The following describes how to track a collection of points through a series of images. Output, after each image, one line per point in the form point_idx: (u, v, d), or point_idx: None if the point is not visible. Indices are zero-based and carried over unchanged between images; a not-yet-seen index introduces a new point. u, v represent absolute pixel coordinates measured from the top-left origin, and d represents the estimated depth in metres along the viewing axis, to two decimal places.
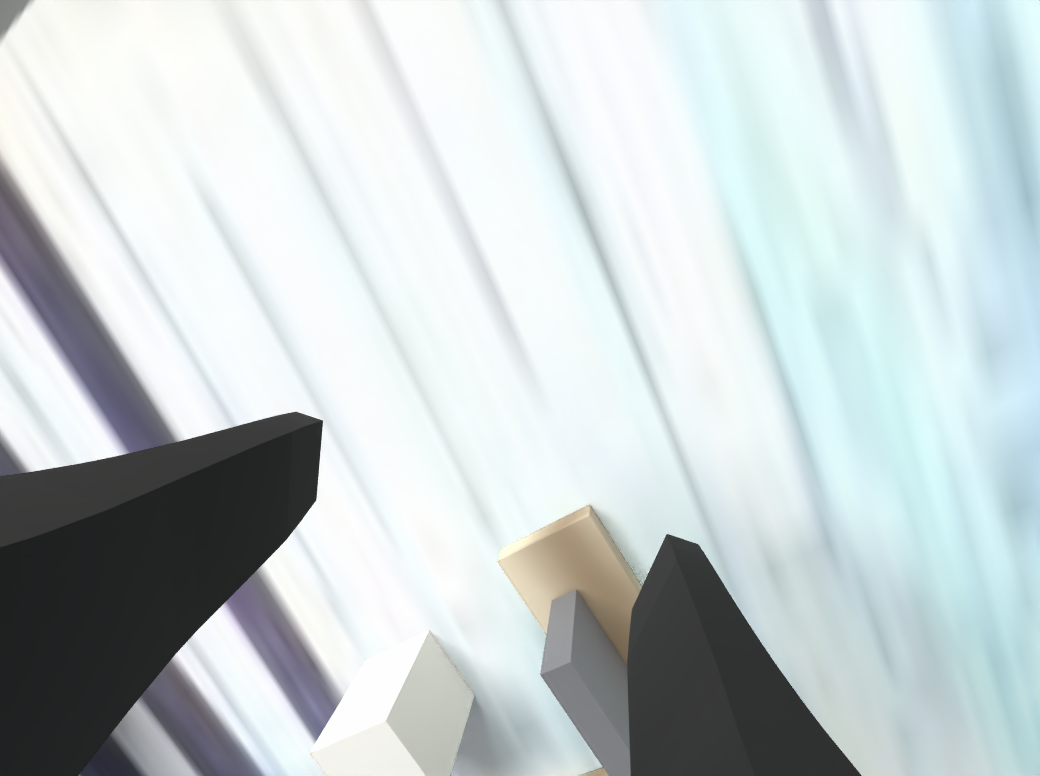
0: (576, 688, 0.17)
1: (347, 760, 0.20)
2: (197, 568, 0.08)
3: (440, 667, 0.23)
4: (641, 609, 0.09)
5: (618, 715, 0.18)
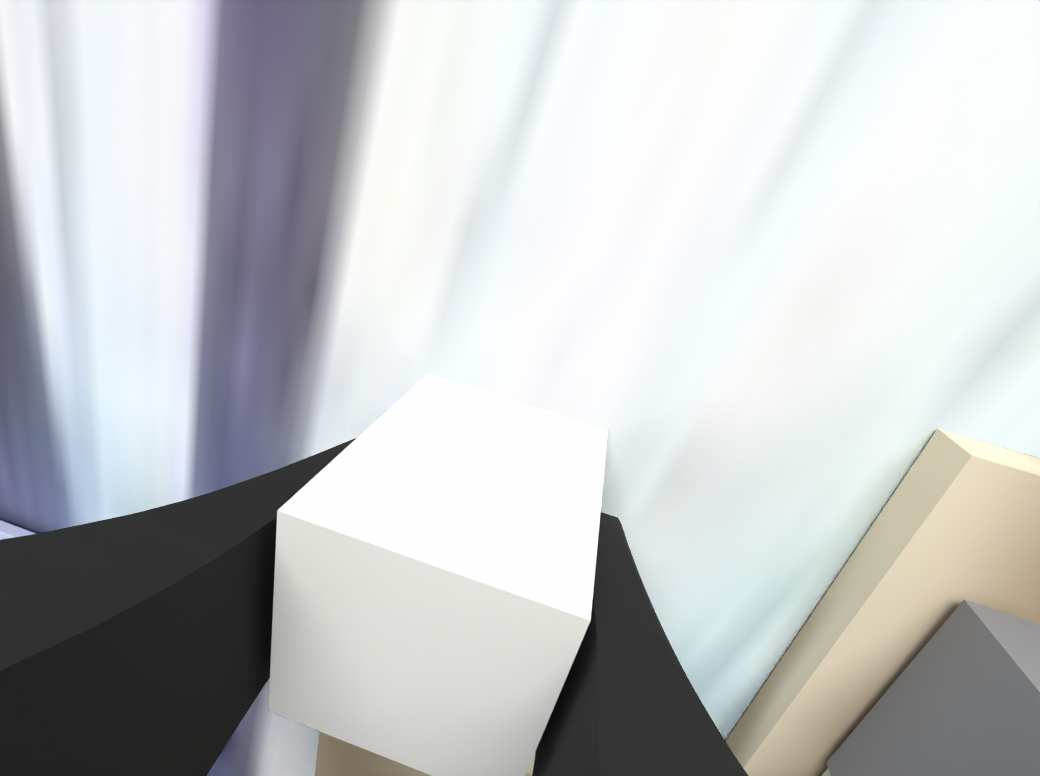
0: None
1: (369, 601, 0.06)
2: None
3: None
4: None
5: None
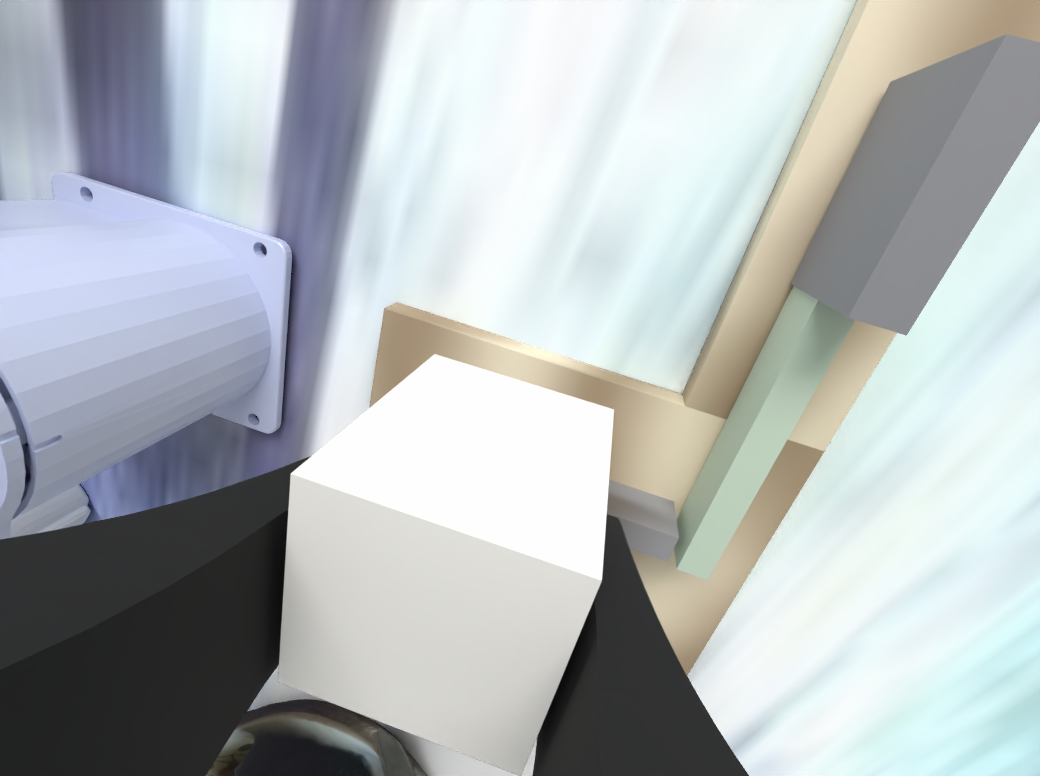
0: (1019, 113, 0.09)
1: (382, 564, 0.06)
2: None
3: None
4: None
5: None
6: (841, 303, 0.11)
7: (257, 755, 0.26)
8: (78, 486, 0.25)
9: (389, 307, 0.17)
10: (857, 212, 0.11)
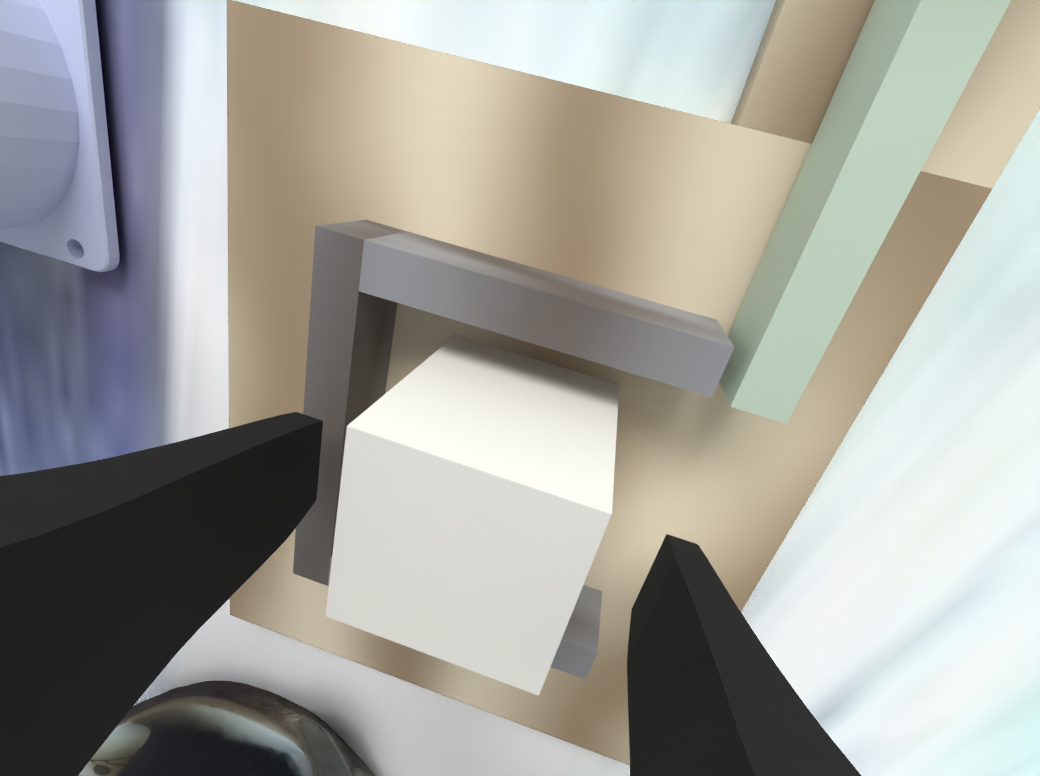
0: None
1: (422, 505, 0.07)
2: (197, 568, 0.08)
3: None
4: (641, 609, 0.09)
5: None
6: None
7: (143, 755, 0.19)
8: None
9: None
10: None
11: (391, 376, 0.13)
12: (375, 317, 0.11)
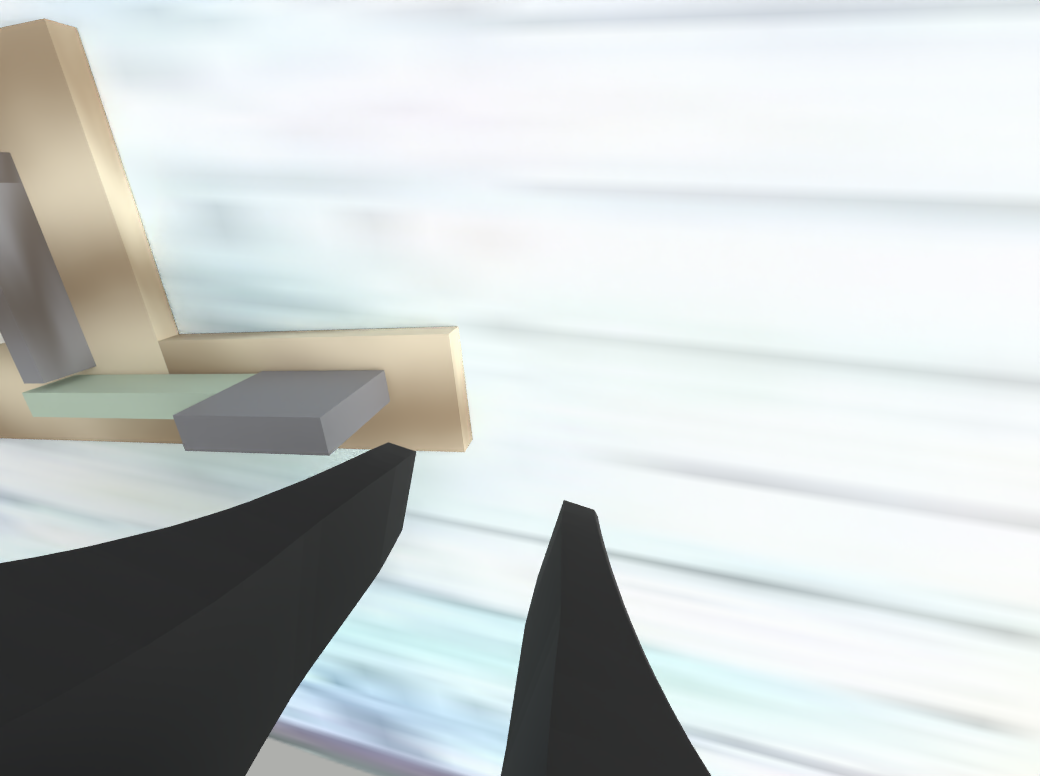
0: (296, 443, 0.14)
1: None
2: (315, 612, 0.07)
3: None
4: (540, 574, 0.10)
5: None
6: (192, 407, 0.15)
7: None
8: None
9: (54, 23, 0.16)
10: (276, 389, 0.16)
11: None
12: None
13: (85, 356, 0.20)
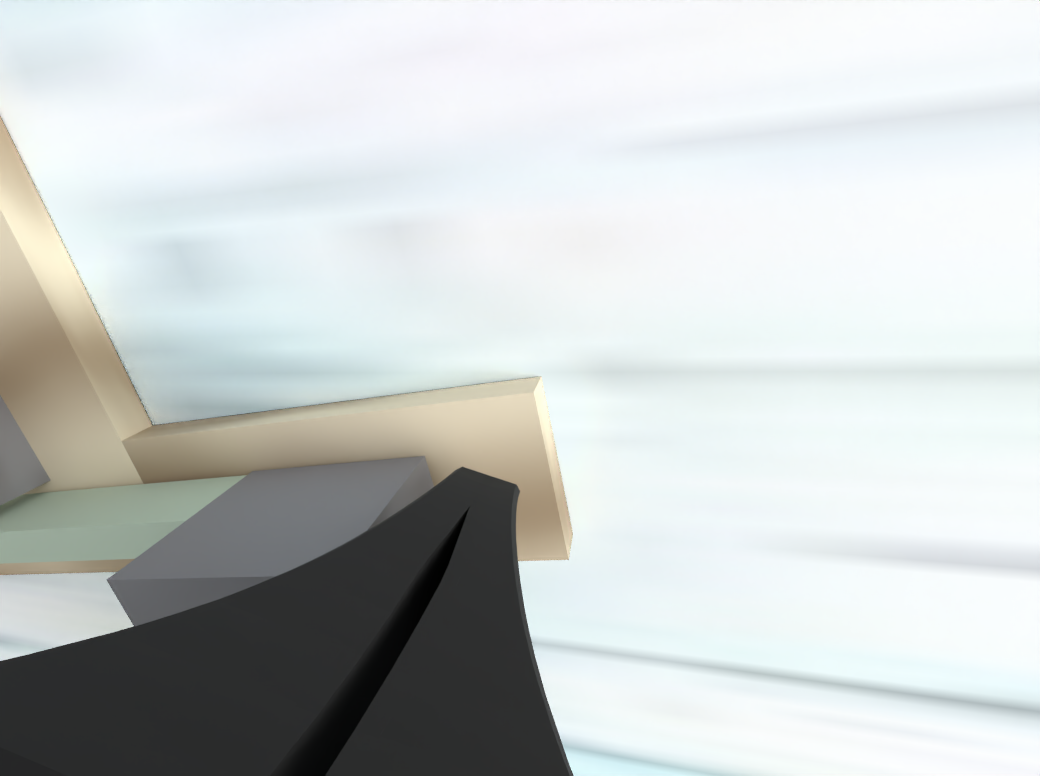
0: None
1: None
2: None
3: None
4: None
5: None
6: (140, 559, 0.10)
7: None
8: None
9: None
10: (268, 509, 0.11)
11: None
12: None
13: (33, 470, 0.15)
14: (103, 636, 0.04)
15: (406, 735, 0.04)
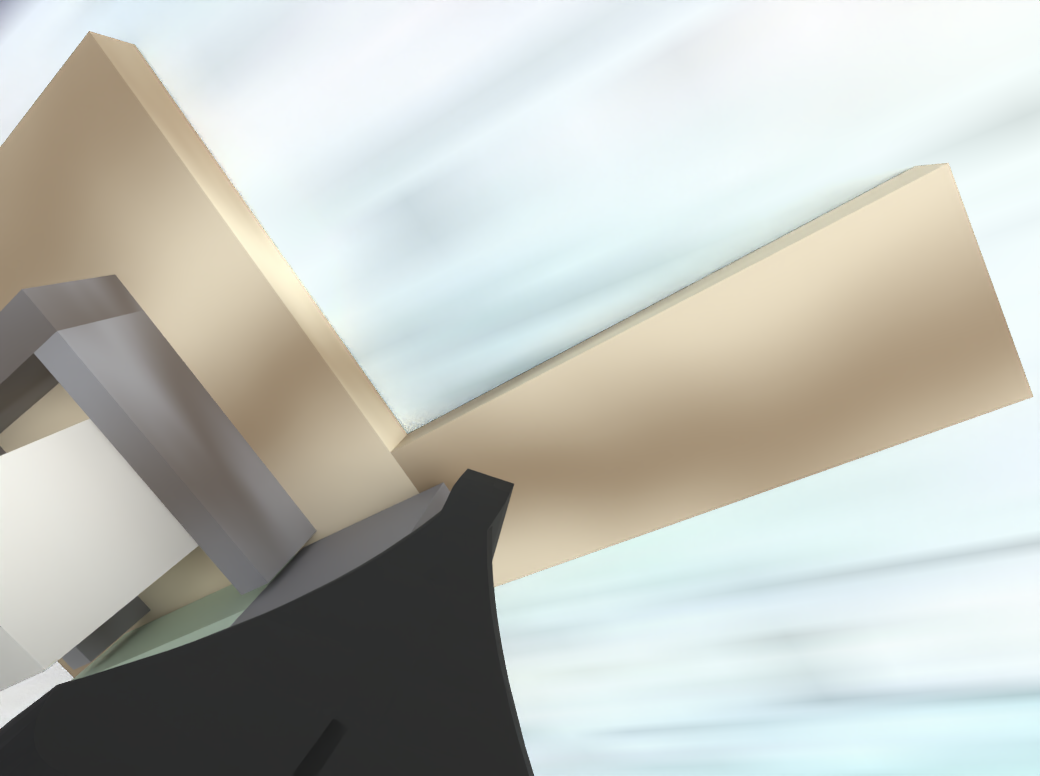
0: None
1: None
2: None
3: None
4: None
5: None
6: None
7: None
8: None
9: (104, 38, 0.10)
10: (312, 574, 0.11)
11: None
12: None
13: (299, 522, 0.13)
14: (154, 656, 0.04)
15: (360, 717, 0.04)
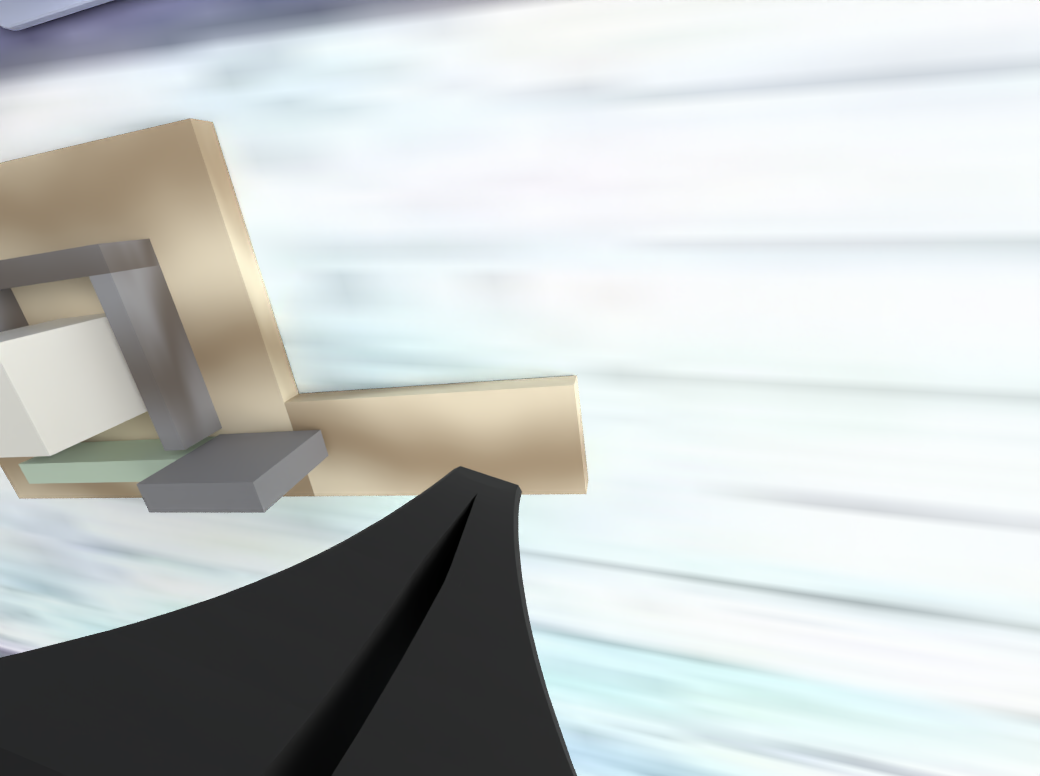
0: (237, 503, 0.17)
1: None
2: (407, 646, 0.07)
3: None
4: None
5: None
6: (154, 475, 0.18)
7: None
8: None
9: (196, 121, 0.17)
10: (226, 454, 0.19)
11: (89, 278, 0.20)
12: None
13: (213, 420, 0.21)
14: (98, 634, 0.04)
15: (410, 737, 0.04)
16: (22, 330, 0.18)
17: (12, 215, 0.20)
